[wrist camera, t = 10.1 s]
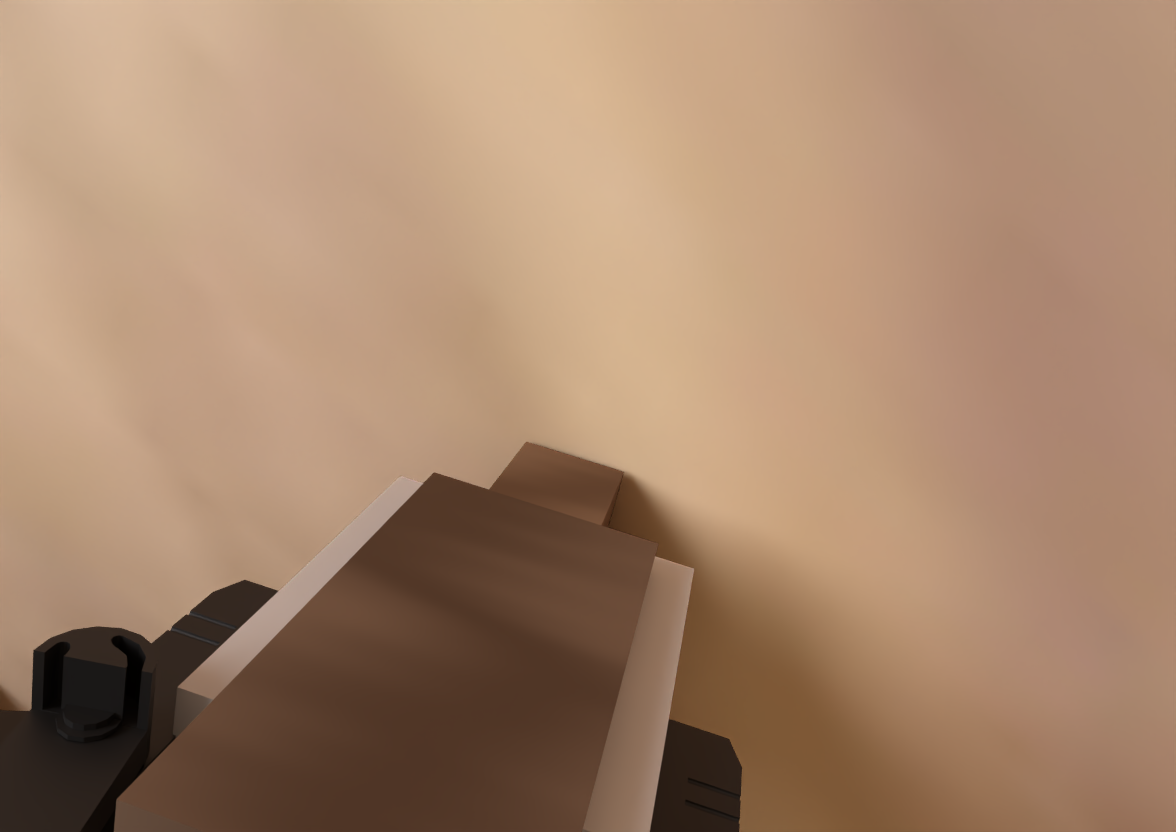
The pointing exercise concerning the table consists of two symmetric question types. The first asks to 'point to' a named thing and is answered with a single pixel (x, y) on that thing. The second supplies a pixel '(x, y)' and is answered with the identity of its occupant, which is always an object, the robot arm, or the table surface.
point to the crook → (429, 674)
